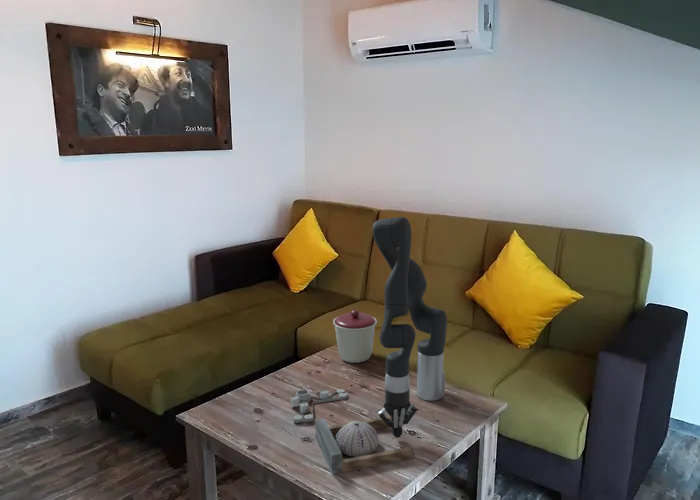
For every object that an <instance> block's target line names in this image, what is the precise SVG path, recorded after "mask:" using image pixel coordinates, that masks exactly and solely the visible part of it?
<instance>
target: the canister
mask: <svg viewBox="0 0 700 500" xmlns="http://www.w3.org/2000/svg"><path fill="white" fill-rule="evenodd" d="M332 323H333V325H334V329H335V337H336V338H335V339H336V344H337V351H338V355H339V357H340V358H341V359H342V361H344V362H348V363H352V364H354V363H355V364H358V363H364V362H366V361H368V360H369V359H370V358H371V357H372V352H373V347H374V340H375V339H374V338H375V329H376V328H375V327H376V325H377V323H378V321H377V318H376V317H374V316H372V315H370V314H368V313H364V312H360V311H358V310H357V309H353V310H351V311H350V312H346V313H343V314H340V315H338V316H336V317H334V319H333V322H332Z"/></svg>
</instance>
